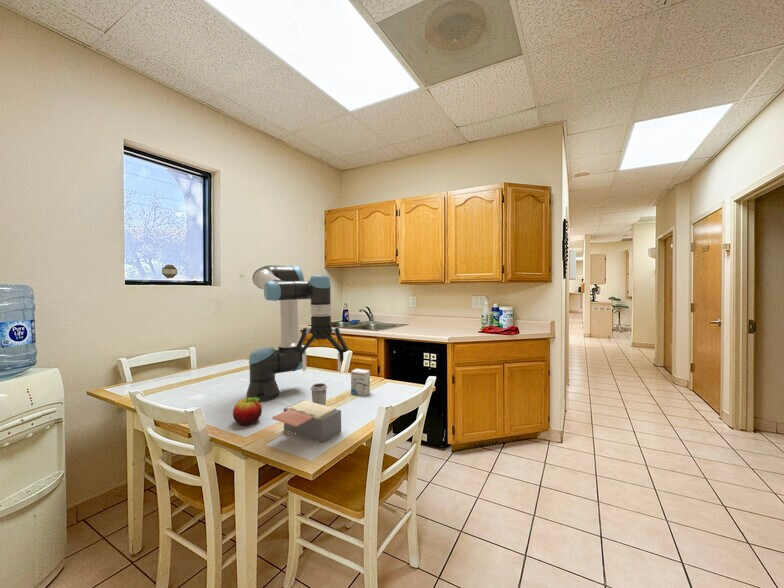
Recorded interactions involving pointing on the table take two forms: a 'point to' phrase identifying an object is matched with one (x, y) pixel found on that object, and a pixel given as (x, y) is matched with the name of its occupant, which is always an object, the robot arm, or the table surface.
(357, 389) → the ink box
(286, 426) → the block
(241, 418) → the fruit
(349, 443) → the table surface
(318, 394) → the cup
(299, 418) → the pink rectangular panel
